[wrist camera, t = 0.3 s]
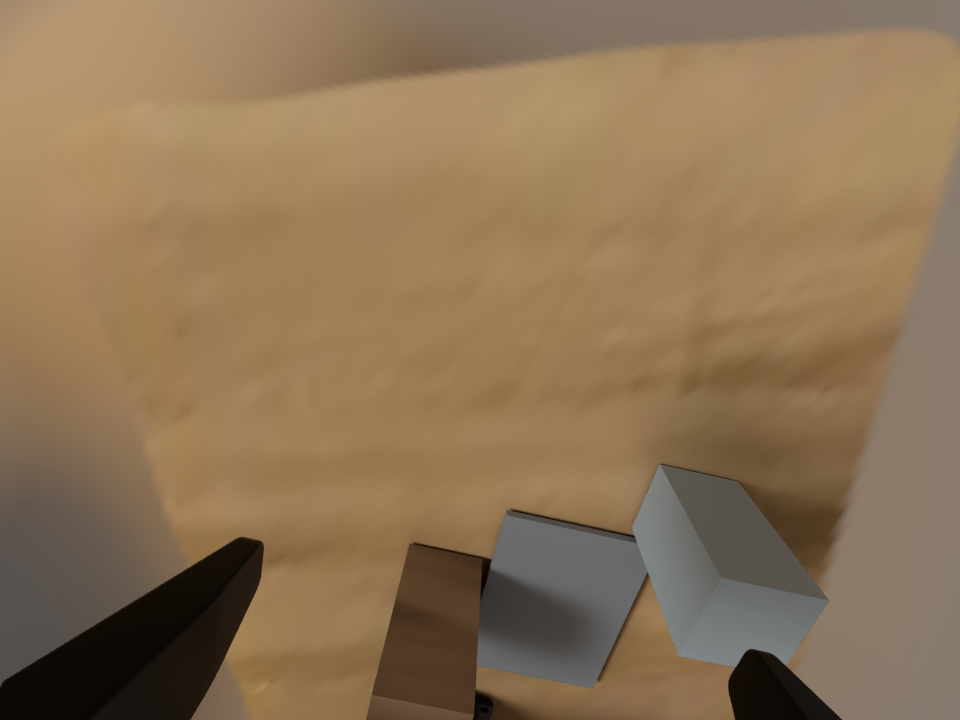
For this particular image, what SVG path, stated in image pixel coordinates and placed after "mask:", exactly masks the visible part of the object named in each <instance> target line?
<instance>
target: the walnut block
mask: <svg viewBox="0 0 960 720" xmlns="http://www.w3.org/2000/svg"><path fill="white" fill-rule="evenodd" d="M481 573H482V559H481V558H476V557H471V556H466V555H462V554H457V553H452V552H447V551H443V550H438V549H433V548H428V547H424V546H419V545H414V544H409V548H408V552H407V556H406V560H405V564H404V568H403V572H402V576H401V580H400V584H399V588H398V592H397V596H396V600H395V604H394V608H393V612H392V616H391V620H390V624H389V628H388V632H387V636H386V640H385V644H384V648H383V652H382V656H381V660H380V664H379V668H378V672H377V676H376V680H375V684H374V688H373V692H372V696H371V701H370V705H369V710H368V715H367V719H366V720H472V719H473V717H474V706H475V687H476V668H477V649H478V630H479V611H480V592H481Z"/></svg>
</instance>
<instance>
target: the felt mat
mask: <svg viewBox="0 0 960 720" xmlns="http://www.w3.org/2000/svg"><path fill="white" fill-rule="evenodd" d="M647 572H648V571H647V568H646V566H645V563H644V560H643V557H642V555H641V552H640V549H639V547H638V544H637V541H636V538H634V537H629V536H625V535H620V534H615V533H611V532H606V531H601V530H597V529H592V528H587V527H583V526H578V525H573V524H569V523H564V522H560V521H555V520H550V519H546V518H541V517H536V516H532V515H527V514H522V513H518V512H513V511H509V510H507V512H506V515H505V518H504V521H503V525H502V528H501V531H500V534H499V538H498V541H497V544H496V548H495V551H494V554H493V557H492V561H491V564H490V567H489V570H488V574H487V577H486V580H485V583H484V587H483V590H482V593H481V596H480V611H479V630H478V649H477V665H478V666H483V667H488V668H493V669H498V670H503V671H508V672H513V673H518V674H523V675H528V676H533V677H538V678H543V679H548V680H553V681H558V682H563V683H568V684H573V685H577V686H582V687H587V688H592V689H593V687H594V685H595V683H596V681H597V679H598V677H599V674H600V672H601V670H602V668H603V666H604V664H605V662H606V660H607V657H608V655H609V653H610V651H611V649H612V647H613V645H614V642H615V640H616V638H617V636H618V634H619V632H620V630H621V628H622V625H623V623H624V621H625V619H626V617H627V615H628V613H629V611H630V608H631V606H632V604H633V602H634V600H635V598H636V596H637V594H638V591H639V589H640V587H641V585H642V583H643V581H644V579H645V577H646V574H647Z"/></svg>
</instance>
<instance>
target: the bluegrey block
mask: <svg viewBox="0 0 960 720" xmlns="http://www.w3.org/2000/svg"><path fill="white" fill-rule="evenodd" d="M632 530H633V533H634V536H635V538H636V541H637V544H638V547H639V549H640V552H641V555H642V557H643V560H644V563H645V566H646V568H647V571H648V574H649V577H650V579H651V582H652V585H653V588H654V590H655V593H656V596H657V599H658V601H659V604H660V607H661V609H662V612H663V615H664V618H665V620H666V623H667V626H668V629H669V631H670V634H671V637H672V640H673V642H674V645H675V648H676V650H677V653H678V656H682V657H687V658H692V659H697V660H702V661H706V662H711V663H716V664H721V665H726V666H731V667H736V666H737V664H738V662H739V661H740V659H741V658H742V656H743V654H744V653H745V652H746V651H747V650H749V649H756V650H760V651H765V652H769V653H771V654H773V655H775V656H776V657H777V658H778V659H779V660H780V661H781V662H782V663H783V664H784V665H786V664H787V663H788V661H789V660H790V658H791V657H792V655H793V654H794V652H795V651H796V649H797V648H798V646H799V645H800V643H801V642H802V641H803V639H804V638H805V636H806V635H807V633H808V632H809V630H810V629H811V627H812V626H813V624H814V623H815V621H816V620H817V618H818V617H819V615H820V614H821V612H822V611H823V609H824V608H825V606H826V605H827V603H828V602H829V600H828V598H827V597H826V596H825V595H824V593H823V592H822V591H821V589H820V588H819V587H818V585H817V584H816V583H815V581H814V580H813V579H812V578H811V576H810V575H809V574H808V572H807V571H806V570H805V568H804V567H803V566H802V565H801V563H800V562H799V561H798V559H797V558H796V557H795V555H794V554H793V553H792V551H791V550H790V549H789V548H788V546H787V545H786V544H785V542H784V541H783V540H782V538H781V537H780V536H779V534H778V533H777V532H776V531H775V529H774V528H773V527H772V525H771V524H770V523H769V521H768V520H767V519H766V517H765V516H764V515H763V514H762V512H761V511H760V510H759V508H758V507H757V506H756V504H755V503H754V502H753V500H752V499H751V498H750V497H749V495H748V494H747V493H746V491H745V490H744V489H743V487H742V486H741V485H740V484H739V482H737V481H733V480H728V479H724V478H719V477H715V476H710V475H706V474H701V473H697V472H692V471H688V470H683V469H679V468H674V467H670V466H665V465H661V464H659V467H658V469H657V471H656V474H655V476H654V478H653V481H652V483H651V485H650V488H649V490H648V492H647V494H646V497H645V499H644V501H643V504H642V506H641V508H640V511H639V513H638V515H637V518H636V520H635V522H634V524H633V527H632Z"/></svg>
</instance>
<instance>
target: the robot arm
mask: <svg viewBox="0 0 960 720" xmlns="http://www.w3.org/2000/svg"><path fill="white" fill-rule="evenodd" d="M263 552H264V545H263V542H261V541H260V540H255V539H250V538H246V537H239V538H237V539H235V540H233V541H232V542H230V543H228V544H227V545H225V546H223V547H222V548H220V549H219V550H217V551H215V552H214V553H212V554H210V555H209V556H207V557H205V558H204V559H202V560H201V561H199V562H197V563H196V564H194V565H192V566H191V567H189V568H187V569H186V570H184V571H182V572H181V573H179V574H178V575H176V576H174V577H173V578H171V579H169V580H168V581H166V582H164V583H163V584H161V585H160V586H158V587H156V588H155V589H153V590H151V591H150V592H148V593H147V594H145V595H143V596H142V597H140V598H138V599H137V600H135V601H134V602H132V603H130V604H129V605H127V606H125V607H124V608H122V609H120V610H119V611H117V612H116V613H114V614H112V615H111V616H109V617H107V618H106V619H104V620H103V621H101V622H99V623H97V624H96V625H94V626H93V627H91V628H89V629H88V630H86V631H84V632H83V633H81V634H79V635H78V636H76V637H74V638H73V639H71V640H70V641H68V642H66V643H65V644H63V645H61V646H60V647H58V648H56V649H55V650H53V651H52V652H50V653H48V654H47V655H45V656H44V657H42V658H40V659H38V660H37V661H35V662H34V663H32V664H30V665H29V666H27V667H25V668H24V669H22V670H20V671H19V672H17V673H16V674H14V675H12V676H11V677H9V678H7V679H6V680H4V681H3V682H2V684H1V687H0V720H191V718H192V716H193V715H194V713H195V711H196V710H197V707H198V706H199V704H200V703H201V701H202V700H203V698H204V696H205V694H206V693H207V691H208V689H209V687H210V686H211V684H212V682H213V680H214V678H215V676H216V674H217V672H218V670H219V668H220V666H221V664H222V662H223V660H224V658H225V656H226V654H227V652H228V650H229V647H230V645H231V643H232V641H233V639H234V637H235V635H236V633H237V631H238V628H239V626H240V624H241V622H242V620H243V618H244V616H245V614H246V612H247V610H248V607H249V605H250V603H251V601H252V599H253V597H254V595H255V593H256V590H257V588H258V585H259V582H260V579H261V572H262V562H263ZM728 689H729V696H730V700H731V704H732V708H733V712H734V717H735V720H842V719H841V718H840V717H839V716H838V715H837V714H835V712H834V711H832V710H831V709H830V708H829V707H828V706H827V705H826V704H825V703H824V702H823V701H822V700H821V699H820V698H819V697H818V696H817V695H816V694H815V693H814V692H813V691H812V690H811V689H810V688H808V687H807V686H806V685H805V684H804V683H803V682H802V681H801V680H800V679H799V678H798V677H797V676H796V675H795V674H794V673H793V672H792V671H791V670H790V669H789V668H788V667H787V666H786V665H784V664H783V663H782V662H781V661H780V660H779V659H778V658H777V657H776V656H775V655H773V654H771V653H769V652H765V651H760V650H756V649H749V650H747V651H746V652H745V653H744V654H743V656H742V658H741V659H740V661H739V662H738V664H737V666H736V667H735V669H734V671H733V672H732V674H731V676H730V678H729V683H728ZM492 712H493V702H492V701H491V700H490V699H487V698H483V697H477V696H475V706H474V717H473V719H472V720H490V717H491V715H492Z"/></svg>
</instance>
